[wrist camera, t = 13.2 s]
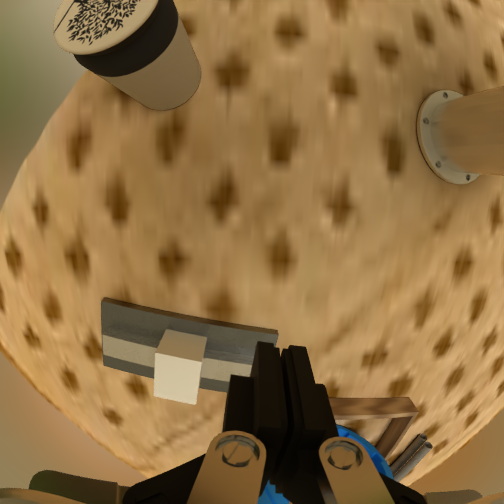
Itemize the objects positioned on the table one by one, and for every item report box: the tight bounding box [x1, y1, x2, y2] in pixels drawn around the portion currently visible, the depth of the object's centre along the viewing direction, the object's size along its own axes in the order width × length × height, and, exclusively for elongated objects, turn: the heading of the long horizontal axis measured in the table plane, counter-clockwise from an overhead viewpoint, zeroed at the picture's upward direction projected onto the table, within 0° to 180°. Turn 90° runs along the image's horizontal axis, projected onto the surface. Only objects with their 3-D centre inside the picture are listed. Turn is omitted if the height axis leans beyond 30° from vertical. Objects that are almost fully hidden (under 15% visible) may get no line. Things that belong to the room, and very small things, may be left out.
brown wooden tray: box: [329, 397, 419, 461], centre depth 42 cm, size 28×32×4 cm
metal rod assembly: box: [390, 434, 433, 482], centre depth 44 cm, size 26×3×5 cm, turn 159°
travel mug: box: [53, 0, 201, 110], centre depth 20 cm, size 8×8×18 cm
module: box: [154, 329, 207, 405], centre depth 33 cm, size 5×6×5 cm
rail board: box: [101, 297, 278, 393], centre depth 36 cm, size 22×10×3 cm, turn 79°
